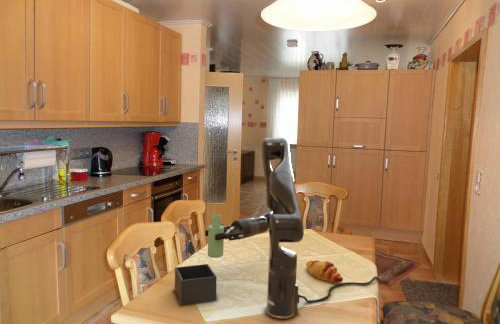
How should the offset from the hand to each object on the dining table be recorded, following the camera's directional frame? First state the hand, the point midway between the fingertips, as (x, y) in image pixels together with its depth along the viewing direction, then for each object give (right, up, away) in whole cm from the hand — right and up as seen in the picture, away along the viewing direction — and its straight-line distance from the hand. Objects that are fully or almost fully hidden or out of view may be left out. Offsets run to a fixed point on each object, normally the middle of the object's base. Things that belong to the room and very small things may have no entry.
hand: (210, 235), depth 143 cm
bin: (-5, -20, -4) cm, 21 cm away
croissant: (+45, -20, +16) cm, 52 cm away
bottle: (+2, -8, +3) cm, 8 cm away
